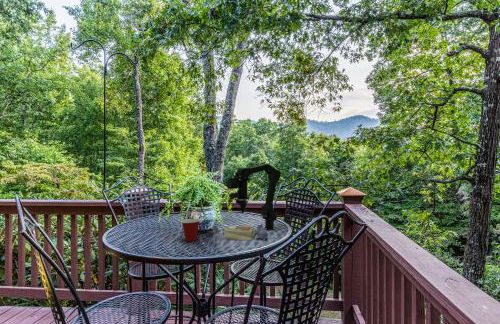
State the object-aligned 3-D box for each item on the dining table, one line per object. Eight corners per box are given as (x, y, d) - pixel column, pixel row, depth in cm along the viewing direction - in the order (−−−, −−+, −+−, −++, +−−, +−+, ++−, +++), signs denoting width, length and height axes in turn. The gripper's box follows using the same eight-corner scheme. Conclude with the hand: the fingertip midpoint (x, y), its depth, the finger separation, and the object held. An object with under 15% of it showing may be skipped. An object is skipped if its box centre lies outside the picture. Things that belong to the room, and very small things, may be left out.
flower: (251, 230, 178) (265, 221, 182) (247, 232, 185) (260, 223, 190) (260, 244, 176) (274, 234, 180) (256, 246, 184) (269, 236, 188)
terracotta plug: (242, 233, 189) (243, 225, 188) (249, 233, 188) (249, 225, 188) (242, 235, 185) (242, 226, 184) (248, 235, 184) (248, 227, 184)
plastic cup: (191, 236, 188) (191, 216, 187) (203, 240, 181) (203, 219, 180) (176, 240, 179) (176, 219, 179) (189, 244, 172) (189, 222, 172)
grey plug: (229, 234, 190) (229, 226, 189) (236, 234, 189) (236, 226, 189) (228, 236, 186) (228, 227, 185) (235, 236, 185) (235, 227, 185)
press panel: (227, 233, 194) (227, 226, 194) (253, 234, 192) (253, 226, 192) (224, 239, 182) (224, 231, 182) (251, 240, 180) (251, 232, 180)
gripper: (232, 186, 204) (232, 209, 204) (227, 189, 185) (227, 215, 186) (249, 186, 202) (249, 210, 203) (245, 190, 184) (245, 216, 184)
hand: (242, 213), depth 194 cm, fingers closed
